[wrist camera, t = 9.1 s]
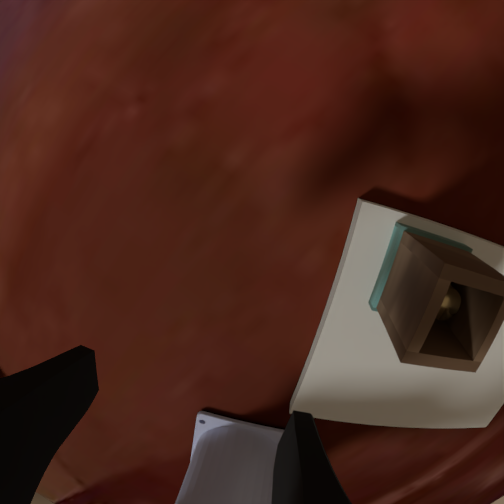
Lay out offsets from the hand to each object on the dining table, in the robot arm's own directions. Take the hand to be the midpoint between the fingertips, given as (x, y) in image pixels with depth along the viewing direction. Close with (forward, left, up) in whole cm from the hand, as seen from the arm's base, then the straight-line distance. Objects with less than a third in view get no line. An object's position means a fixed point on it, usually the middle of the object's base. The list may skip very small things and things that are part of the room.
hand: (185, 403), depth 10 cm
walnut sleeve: (+4, -10, -9) cm, 14 cm away
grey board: (0, -15, -10) cm, 18 cm away
